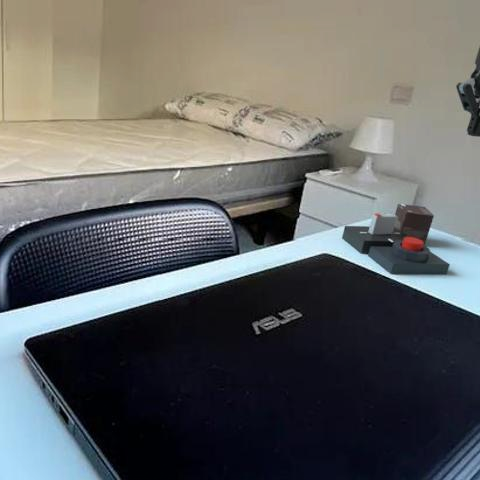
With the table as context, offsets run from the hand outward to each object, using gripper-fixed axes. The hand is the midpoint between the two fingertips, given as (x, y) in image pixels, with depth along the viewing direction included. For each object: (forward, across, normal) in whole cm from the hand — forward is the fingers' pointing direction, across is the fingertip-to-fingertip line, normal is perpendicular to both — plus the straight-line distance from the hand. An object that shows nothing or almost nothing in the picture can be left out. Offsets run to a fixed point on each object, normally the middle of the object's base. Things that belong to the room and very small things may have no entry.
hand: (474, 135), depth 96 cm
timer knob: (+22, -12, +3) cm, 25 cm away
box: (+25, -2, +7) cm, 26 cm away
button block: (+25, -11, -6) cm, 28 cm away
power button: (+21, -11, -6) cm, 25 cm away
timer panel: (+25, -12, +3) cm, 28 cm away
